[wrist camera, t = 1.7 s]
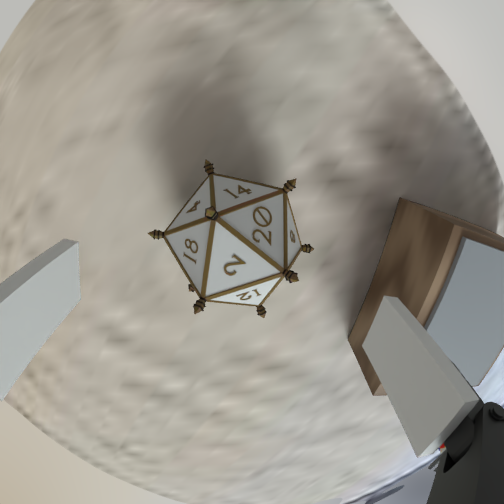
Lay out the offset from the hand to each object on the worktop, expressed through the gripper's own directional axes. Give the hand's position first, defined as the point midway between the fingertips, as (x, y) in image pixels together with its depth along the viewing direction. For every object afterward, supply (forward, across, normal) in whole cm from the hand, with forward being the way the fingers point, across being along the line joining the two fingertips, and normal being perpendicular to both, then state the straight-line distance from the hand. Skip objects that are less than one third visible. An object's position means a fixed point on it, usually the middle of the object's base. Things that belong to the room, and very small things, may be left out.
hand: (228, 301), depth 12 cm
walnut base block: (+10, +18, -1) cm, 21 cm away
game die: (+10, 0, +1) cm, 10 cm away
